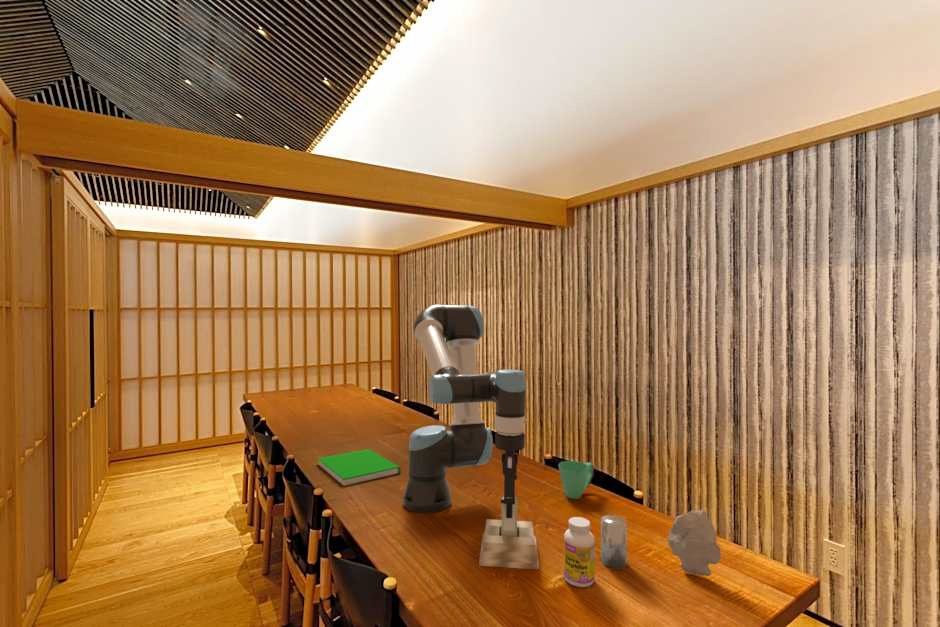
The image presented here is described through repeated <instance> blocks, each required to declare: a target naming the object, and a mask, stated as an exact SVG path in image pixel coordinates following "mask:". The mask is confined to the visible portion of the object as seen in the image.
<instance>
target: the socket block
mask: <svg viewBox="0 0 940 627" xmlns="http://www.w3.org/2000/svg"><path fill="white" fill-rule="evenodd" d="M501 531H502V519H493V518H492V519H489V518H487V519H486V521H485V529H484V532H483V533H482V538H481V546H480V554H479V561H478V566H479V567H496V568H509V569H510V568H511V569H522V570H523V569H525V570H526V569H527V570H540V562H539V554H538V545H537V537H536V535H534V526H533V521H525V520H517V537H511V536H501Z"/></svg>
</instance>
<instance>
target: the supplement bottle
mask: <svg viewBox="0 0 940 627" xmlns="http://www.w3.org/2000/svg"><path fill="white" fill-rule="evenodd" d="M590 530H591V521H590V520H588V519H587V518H585V517H581V516H574V517H570V518H569V519H568V529H566V531H565V532H564V535H563V578H564V581H566V582H567V583H568V584H569V585H571V586H574V587H577V588H587V587H590V586H591V585H593V584H594V582H595V547H596V546H595V544H596V543H595V536H594V535H593V533H592V532H591V531H590Z"/></svg>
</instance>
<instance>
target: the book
mask: <svg viewBox="0 0 940 627" xmlns="http://www.w3.org/2000/svg"><path fill="white" fill-rule="evenodd" d="M317 461H318V465H319V466H320V467H321V468H322V469H323V470H325V472H327V473H328V474H329V475H330V476H331V477H333V478H334V479H335V480H336V481H337V482H339V484H341V485H342V486H349V485H352V484H357V483H361V482H366V481H367V482H368V481H370V480H375V479H378V478H379V479H380V478H383V477H389V476H393V475H398V474H401V472H402V468H401V467H400V466H399V465H397V464H396V463H394V462H392V461H391V460H389V459H387V458H385V457H383V456H381V455H380V454H378V453H376V452H375V451H373V450H371V449H370V448H367V449H362V450H355V451H350V452H346V453H338V454H333V455H329V456H324V457H318V458H317Z"/></svg>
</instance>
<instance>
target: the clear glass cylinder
mask: <svg viewBox="0 0 940 627" xmlns="http://www.w3.org/2000/svg"><path fill="white" fill-rule="evenodd" d="M600 523H601V524H600V540H601V541H600V562H601V564H602V565H603V566H604V567H606V568H609V569H611V570H614V571H615V570H617V571H621V570H624V569H626V567H627V563H628V562H627V554H628V553H627V552H628V551H627V550H628V549H627V544H628V542H627V539H628V538H627V535H628V533H627V531H628V527H627V526H628V525H627V520H626V519H625V518H623V517H621V516H617V515H613V514H611V515H610V514H605V515H603V516H602V517H601V519H600Z"/></svg>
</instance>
